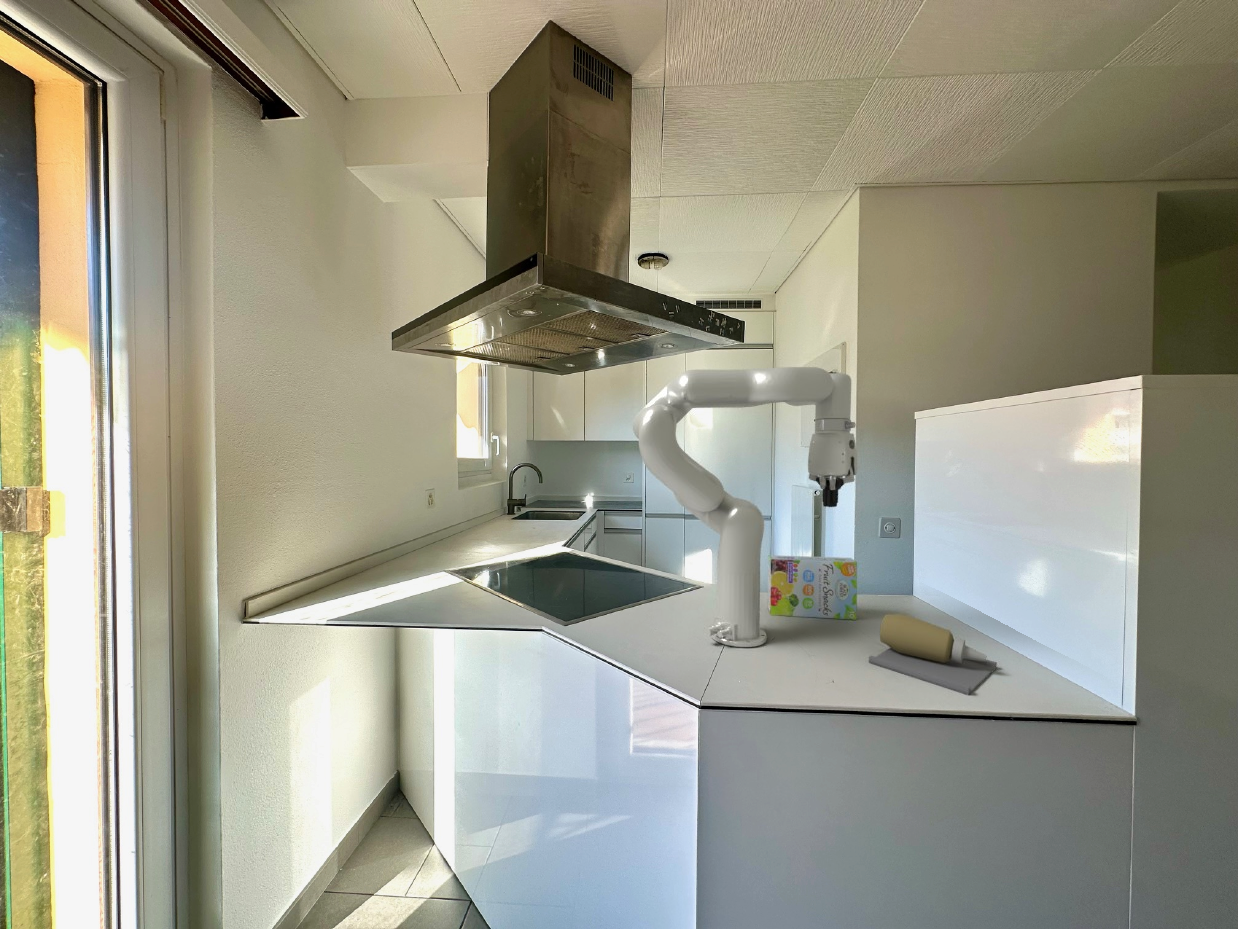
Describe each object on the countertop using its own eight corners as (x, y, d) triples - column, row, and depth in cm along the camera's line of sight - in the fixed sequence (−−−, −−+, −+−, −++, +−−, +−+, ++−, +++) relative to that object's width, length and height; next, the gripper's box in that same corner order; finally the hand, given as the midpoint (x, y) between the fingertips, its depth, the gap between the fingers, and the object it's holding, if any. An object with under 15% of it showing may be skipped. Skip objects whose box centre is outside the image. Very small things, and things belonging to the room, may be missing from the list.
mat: (968, 695, 86) (968, 688, 86) (868, 662, 99) (868, 656, 99) (996, 668, 97) (996, 662, 97) (903, 642, 110) (903, 637, 110)
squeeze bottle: (887, 601, 106) (990, 628, 94) (888, 625, 110) (988, 655, 98) (876, 629, 101) (984, 662, 90) (878, 654, 105) (981, 688, 94)
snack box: (850, 613, 129) (851, 557, 129) (857, 621, 124) (858, 561, 124) (767, 609, 133) (767, 553, 133) (769, 615, 128) (770, 558, 127)
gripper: (872, 427, 110) (870, 509, 111) (812, 429, 122) (810, 502, 123) (855, 425, 106) (852, 510, 106) (794, 428, 118) (792, 504, 118)
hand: (829, 506), depth 114 cm, fingers closed
